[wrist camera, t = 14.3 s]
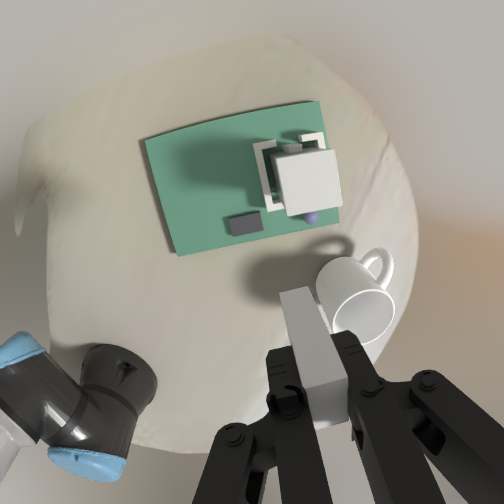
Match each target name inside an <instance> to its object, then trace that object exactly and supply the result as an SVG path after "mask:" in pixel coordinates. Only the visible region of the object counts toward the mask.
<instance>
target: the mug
mask: <svg viewBox="0 0 504 504" xmlns="http://www.w3.org/2000/svg"><path fill="white" fill-rule="evenodd" d="M376 258H381V259H382V261H383V268H382V271H381V274H380V275H379V277H378V278H377V279H376V278H375V277H374V276H373V275H372V273H371V272H370V271H369V270H368V269H367V268H368V266H369V265H370V264H371V262H372V261H373V260H375V259H376ZM392 273H393V259H392V256H391V255H390V253H389V252H388V251H387V250H385V249H383V248H375V249H372V250H371V251H369V252H368V253H367V254H366V255H365V256H364V257H363V258H362V259H361V260H360V261H359V260H357V259H355V258H352V257H339V258H336V259H333V260H331V261H330V262H328V263H327V264H326V265H325V266H324V267H323V268H322V269H321V271H320V272H319V274H318V276H317V279H316V292H317V295H318V298H319V300H320V303H321V305H322V307H323V310H324V312H325V315H326V317H327V319H328V322H329V324H330V327H331V329H332V331H333V334H335V333H338V332H342V331H345V330H349V331H351V332H352V333H354V334H355V335H356V336H357V337H358V339H359V341H360V343H361V345H364V344H367V343H370V342H372V341H374V340H376V339H377V338H379V337H380V336H381V335H382V334H383V333H384V332H385V331H386V330H387V329H388V327H389V326H390V324H391V322H392V320H393V317H394V312H395V306H394V302H393V300H392V298H391V296H390V295H389V294H388V293H387V292H386V290H385V288H386V287H387V285H388V283H389V281H390V279H391V277H392Z"/></svg>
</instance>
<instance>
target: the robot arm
mask: <svg viewBox="0 0 504 504" xmlns="http://www.w3.org/2000/svg"><path fill="white" fill-rule="evenodd" d="M279 295H280V300H281V304H282V309H283V313H284V318H285V322H286V327H287V332H288V336H289V340H290V344H291V346H286V347H282V348H278V349H273V350H269V352H268V355H267V357H266V366H267V374H268V382H269V389H270V391H269V393H268V394H267V398H266V402H267V405H268V408H269V412H268V413H267V415H266V416H264V417H263V418H262V419H260V420H259V421H257V422H254V423H252V424H250V425H248V426H247V425H246V424H243V423H230V424H228V425H225V426H223V427H222V428H221V429H220V430H218V432H217V434H216V436H215V438H214V441H213V444H212V447H211V450H210V453H209V456H208V459H207V462H206V465H205V468H204V471H203V473H202V476H201V479H200V482H199V485H198V488H197V491H196V494H195V496H194V499H193V502H192V504H261V503H262V499H263V494H264V489H265V484H266V479H267V474H268V470H269V469H271V468H273V467H275V466H277V467H278V475H279V483H280V491H281V499H282V504H333V502H332V498H331V494H330V489H329V486H328V481H327V477H326V473H325V468H324V465H323V460H322V456H321V452H320V448H319V444H318V440H317V436H316V432H315V430H317V429H321V428H325V427H329V426H332V425H336V424H340V423H343V422H346V421H349V417H350V420H351V423H352V441H354V440H355V442H356V445H357V448H358V451H359V453H360V457H361V460H362V463H363V466H364V469H365V472H366V475H367V478H368V481H369V485H370V488H371V491H372V494H373V497H374V501H375V504H446V503H445V501H444V498H443V496H442V493H441V491H440V489H439V486H438V484H437V482H436V480H435V478H434V475H433V473H432V471H431V469H430V467H429V464H428V463H427V460H426V458H425V456H424V454H425V455H426V457H427V458H428V459H429V460H430V461H431V462H432V463H433V464H434V466H435V467H436V468H437V469H438V470H439V471H440V472H441V473H442V475H443V476H444V477H445V478H446V479H447V480H448V481H449V482H450V483H451V485H452V486H453V487H454V488H455V489H456V490H457V491H458V492H459V493H460V495H461V496H462V497H463V498H464V499H465V500H466V501H467V502H468V504H504V428H503V427H502V426H501V425H500V424H499V423H497V422H496V421H495V420H494V419H493V418H492V417H490V416H489V415H488V414H487V413H486V412H485V411H484V410H483V409H482V408H480V407H479V406H478V405H477V404H476V403H475V402H473V401H472V400H471V399H470V398H469V397H468V396H466V395H465V394H464V393H463V392H462V391H460V390H459V389H458V388H457V387H456V386H455V385H453V384H452V383H451V382H450V381H449V380H448V379H446V378H445V377H444V376H443V375H442V374H440V373H438V372H437V371H434V370H423V371H420V372H418V373H416V374H415V375H414V376H413V377H412V380H411V381H406V382H389V381H386V380H385V379H384V378H381V377H379V375H378V374H377V373H376V371H375V369H374V367H373V365H372V363H371V361H370V359H369V358H368V356H367V354H366V352H365V351H364V348H363V346H362V345H361V343H360V341H359V339H358V337H357V336H356V335H355V334H354V333H352V332H351V331H349V330H345V331H342V332H338V333H335V334H331V335H330V334H329V332H328V329H327V327H326V325H325V323H324V320H323V318H322V316H321V314H320V311H319V309H318V307H317V305H316V303H315V300H314V298H313V296H312V294H311V292H310V289H309V287H308V286H305V287H301V288H297V289H293V290H289V291H284V292H280V293H279ZM156 390H157V378H156V376H155V374H154V372H153V370H152V369H151V368H150V366H149V365H148V364H147V363H146V362H145V361H144V360H143V359H141V358H140V357H139V356H137V355H136V354H134V353H132V352H130V351H128V350H126V349H124V348H121V347H118V346H113V345H98V346H95V347H93V348H92V349H90V350H89V351H88V353H87V355H86V356H85V358H84V360H83V363H82V373H81V378H80V386H79V385H78V384H77V383H76V382H75V381H74V380H73V379H72V378H71V377H70V376H69V375H68V374H67V373H66V372H65V371H64V370H63V369H62V368H61V367H60V366H59V365H58V364H57V363H56V362H55V360H54V359H53V358H52V357H51V356H50V355H49V354H48V353H47V351H46V349H45V348H43V347H42V346H41V345H40V344H39V343H38V342H37V341H36V340H35V339H34V338H33V337H32V336H31V335H30V334H29V333H28V332H25V331H20V332H18V333H16V334H15V335H13V336H12V337H11V338H10V339H9V340H7V341H6V342H5V343H3V344H2V345H1V346H0V485H1V483H2V481H3V479H4V477H5V475H6V474H7V472H8V470H9V468H10V467H11V465H12V463H13V461H14V459H15V458H16V456H17V454H18V452H19V451H20V449H21V448H23V447H31V446H35V445H36V444H37V442H38V441H39V439H42V440H43V441H44V442H45V443H47V444H48V445H49V446H50V447H49V448H48V457H49V458H50V459H51V460H52V461H53V462H54V463H55V464H56V465H58V466H60V467H61V468H63V469H65V470H66V471H69V472H71V473H73V474H75V475H78V476H80V477H83V478H86V479H90V480H94V481H99V482H114V481H116V480H118V479H119V478H120V476H121V474H122V471H123V469H124V466H125V464H126V463H127V460H126V459H127V455H128V451H129V448H130V444H131V441H132V437H133V433H134V430H135V427H136V423H137V420H138V417H139V415H140V414H141V413H142V412H143V410H144V409H145V407H146V406H147V405H148V404H149V403H150V402H151V401H152V400H153V398H154V396H155V393H156ZM423 453H424V454H423Z"/></svg>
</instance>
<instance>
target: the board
mask: <svg viewBox="0 0 504 504" xmlns="http://www.w3.org/2000/svg"><path fill="white" fill-rule="evenodd" d="M315 132H323V136H324V141H325V146H326V149H328V144H327V138H326V133H325V128H324V123H323V118H322V113H321V108H320V104H319V101H316V102H308V103H301V104H294V105H288V106H281V107H276V108H270V109H264V110H259V111H254V112H249V113H244V114H240V115H235V116H231V117H226V118H222V119H218V120H214V121H210V122H206V123H202V124H198V125H194V126H191V127H187V128H184V129H180V130H177V131H173V132H170V133H167V134H163V135H160V136H157V137H154V138H151V139H148V140H145V145H146V149H147V153H148V157H149V161H150V165H151V168H152V172H153V176H154V180H155V183H156V187H157V190H158V194H159V198H160V201H161V205H162V208H163V211H164V215H165V218H166V221H167V225H168V228H169V231H170V235H171V238H172V241H173V244H174V247H175V250H176V254H177V257H179V256H184V255H188V254H193V253H198V252H202V251H207V250H212V249H216V248H221V247H226V246H230V245H235V244H240V243H244V242H249V241H254V240H258V239H263V238H268V237H273V236H278V235H282V234H287V233H292V232H297V231H302V230H306V229H311V228H316V227H321V226H326V225H331V224H336V223H339V215H338V207H333V208H328V209H323V210H318V211H313V212H308V213H303V214H298V215H293V216H287V215H286V213H285V209H280V210H275V211H270V212H268V211H267V208H266V203H265V199H264V194H263V189H262V185H261V180H260V175H259V171H258V166H257V162H256V157H255V152H254V148H253V144H254V143H259V142H264V141H269V140H276V144H277V146H276V147H271V148H266V149H262V154H263V159H264V163H265V168H266V173H267V177H268V182H269V187H270V192H271V197H272V200H276V199H279V197H278V196H277V194H276V191H275V186H274V181H273V176H272V171H271V166H270V162H269V157H268V154H269V153H274V152H279V151H282V147H281V145H286V144H291V143H294V144H302V147H307V146H308V147H315V146H314V140H311V141H304V142H299V138H298V135H303V134H309V133H315Z"/></svg>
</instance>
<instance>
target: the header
mask: <svg viewBox="0 0 504 504" xmlns="http://www.w3.org/2000/svg"><path fill="white" fill-rule="evenodd" d="M298 138H299V142H304V141H311V140H314V146H315V148H322V149H326V146H325V141H324V136H323V132H315V133H309V134H303V135H298ZM276 146H277V144H276V140H269V141H264V142H259V143H254V144H253V148H254V152H255V157H256V162H257V166H258V171H259V175H260V180H261V185H262V189H263V194H264V199H265V203H266V208H267V211H268V212H270V211H275V210H280V209H285V208H284V206H283V205H282V203H281V201H280V199H276V200H272V197H271V192H270V187H269V182H268V177H267V173H266V168H265V163H264V159H263V154H262V149H266V148H271V147H276Z"/></svg>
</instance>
